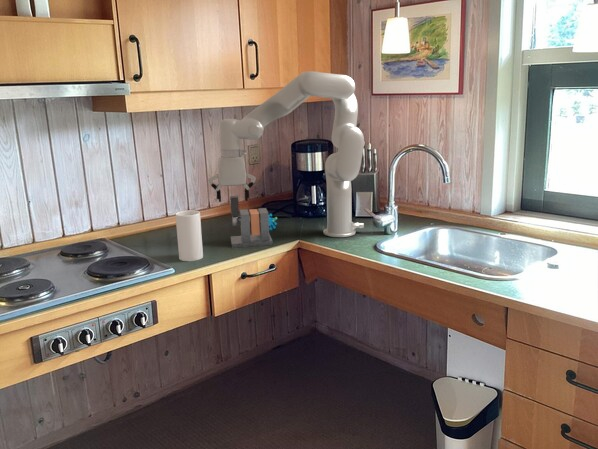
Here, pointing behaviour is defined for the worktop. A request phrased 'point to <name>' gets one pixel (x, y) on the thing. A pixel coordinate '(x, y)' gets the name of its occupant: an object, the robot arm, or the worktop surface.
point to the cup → (189, 235)
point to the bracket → (245, 237)
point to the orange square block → (254, 222)
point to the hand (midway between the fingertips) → (233, 200)
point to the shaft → (236, 211)
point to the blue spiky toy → (272, 222)
